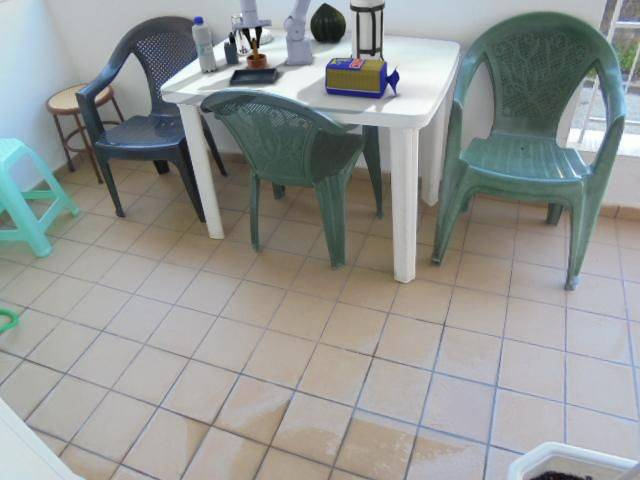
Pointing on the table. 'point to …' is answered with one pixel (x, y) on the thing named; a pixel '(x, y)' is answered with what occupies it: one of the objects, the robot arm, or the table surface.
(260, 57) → the pen cup
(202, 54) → the bottle
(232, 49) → the vaping device
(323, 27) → the squash
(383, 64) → the bread
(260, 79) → the tray
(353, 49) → the coffee press
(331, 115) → the table surface
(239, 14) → the beer glass
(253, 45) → the marker
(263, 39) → the mooncake
